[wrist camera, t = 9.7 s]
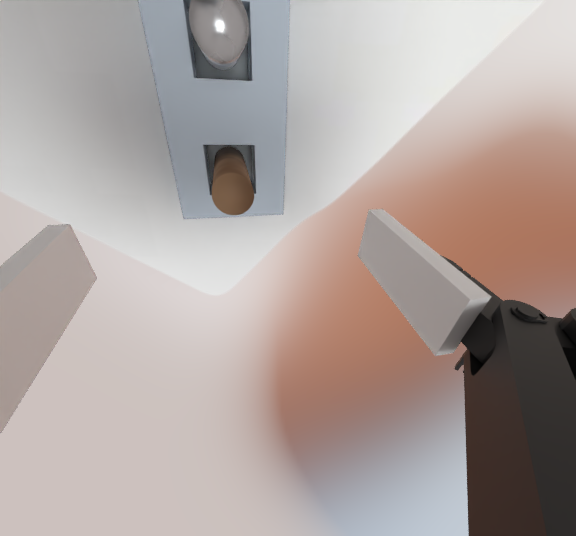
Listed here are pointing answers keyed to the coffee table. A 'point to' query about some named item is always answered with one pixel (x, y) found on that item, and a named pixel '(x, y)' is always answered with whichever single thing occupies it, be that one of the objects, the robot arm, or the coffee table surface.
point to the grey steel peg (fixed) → (219, 30)
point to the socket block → (222, 103)
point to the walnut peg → (231, 182)
